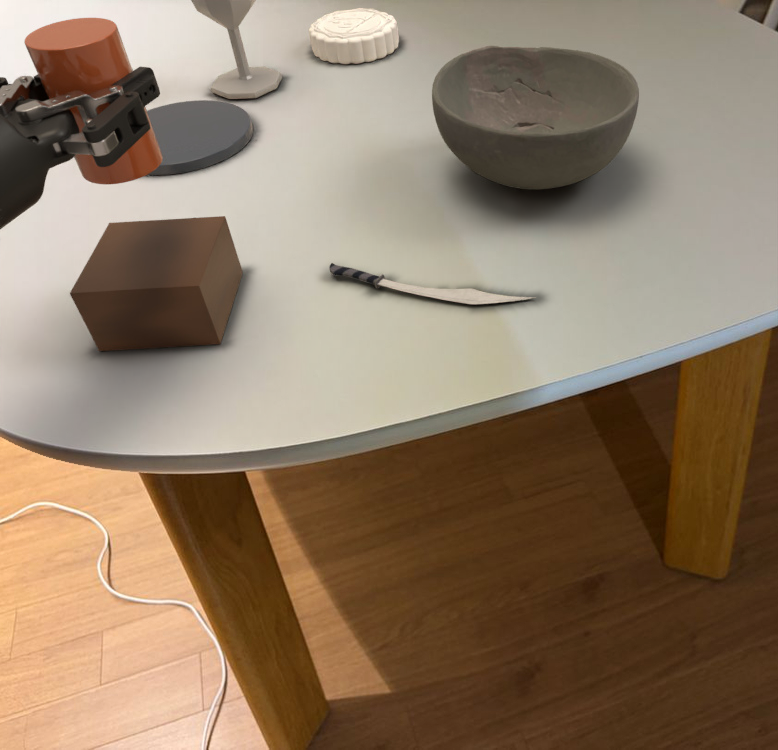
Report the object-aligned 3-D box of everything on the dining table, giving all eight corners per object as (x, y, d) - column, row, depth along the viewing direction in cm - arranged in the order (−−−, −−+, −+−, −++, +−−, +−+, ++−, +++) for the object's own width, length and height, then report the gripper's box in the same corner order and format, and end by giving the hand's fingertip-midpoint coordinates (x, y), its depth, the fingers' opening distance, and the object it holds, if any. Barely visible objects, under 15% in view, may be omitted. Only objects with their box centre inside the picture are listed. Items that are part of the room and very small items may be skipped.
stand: (99, 351, 66) (69, 293, 62) (133, 278, 73) (109, 222, 69) (220, 344, 66) (199, 285, 62) (243, 272, 73) (225, 215, 69)
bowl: (481, 245, 75) (475, 147, 68) (415, 150, 89) (404, 60, 82) (669, 196, 80) (681, 99, 73) (579, 113, 94) (581, 25, 87)
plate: (91, 179, 87) (87, 169, 86) (133, 113, 98) (130, 103, 98) (239, 170, 87) (236, 160, 86) (263, 105, 99) (261, 96, 98)
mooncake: (344, 26, 117) (340, 0, 114) (415, 37, 113) (412, 11, 110) (295, 57, 109) (289, 30, 107) (369, 70, 105) (365, 42, 103)
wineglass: (237, 69, 107) (190, -110, 93) (294, 76, 105) (255, -107, 90) (199, 97, 101) (142, -90, 87) (259, 104, 99) (210, -86, 84)
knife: (321, 284, 71) (319, 275, 71) (332, 268, 73) (330, 259, 72) (530, 315, 67) (530, 306, 66) (537, 297, 69) (537, 288, 68)
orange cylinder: (70, 187, 60) (9, 51, 53) (96, 148, 64) (43, 19, 57) (151, 182, 60) (100, 47, 53) (171, 144, 64) (127, 15, 57)
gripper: (4, 142, 44) (181, 30, 55) (-192, 116, 47) (13, 16, 59) (61, 257, 49) (212, 133, 60) (-120, 226, 52) (56, 114, 64)
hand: (113, 76), depth 59 cm, fingers closed on orange cylinder, 6 cm apart
